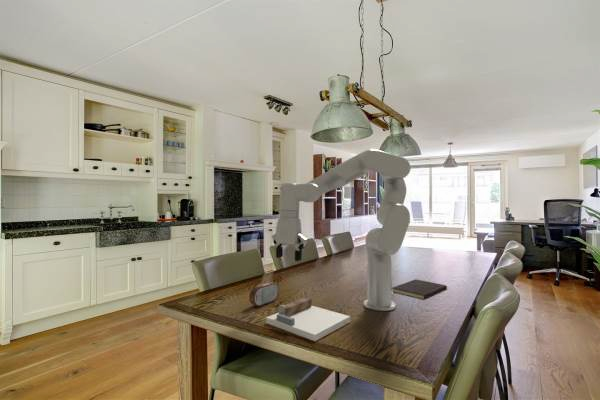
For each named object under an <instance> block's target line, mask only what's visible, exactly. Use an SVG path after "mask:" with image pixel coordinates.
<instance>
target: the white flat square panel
mask: <svg viewBox="0 0 600 400" xmlns="http://www.w3.org/2000/svg"><path fill="white" fill-rule="evenodd" d="M265 320H266V321H265V323H266V324H268V325H271V326H273V327H275V328H278V329H280V330H284V331H287V332H289V333H292V334H295V335H297V336H300V337H302V338H304V339H308V340H311V341H312V342H317V341H318V340H320V339H322V338H323V337H325V336H327V335H329V334H331V333H334V332H335V331H337V330H338V329H340V328H342V327H344V326H346V325H347V324H349V323H351V316H350V315H347V314H343V313H340V312H337V311H332V310H329V309H326V308H325V309H324V308H323V307H318V306H314V305H311V307H310V308H307V309H305V310H302V311H300V312H298V313H295V314H293V315H290V316H285V315H282V314H279V312H277V313H274V314H271V315H269V316H266V318H265Z"/></svg>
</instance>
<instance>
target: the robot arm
mask: <svg viewBox="0 0 600 400" xmlns="http://www.w3.org/2000/svg"><path fill="white" fill-rule="evenodd" d="M411 169H412V168H411V164H410V161H409V160H408V159H407V158H405V157H403V156H400V155H397V154H393V153H389V152H386V151H382V150H379V149H375V148H370V149H367V150H364V151H362V152H360V153H357V154H356V155H353V156H352V157H350V158H348V159H347V160H344V161H343V162H341V163H339V164H338V165H337V164H336V166H333V167H332V168H330V169H329V170H327V171H326V172H324V173H322V174H321V175H319V176H317V177H315V178H313V179H311V180H310V181H308V182H306V183H294V182H285V183H282V184H281V185H280V190H279V191H280V198H279V199H280V201H279V212H278V215H279V217H278V218H277V222H276V227H275V228H276V229H275V233H274V234H273V235H272V236H271V238H272V241H273V244H274V248H276V251H275V258H277V259H279V258H282V257H283V256H284V255H283V254H284V247H283V245H287V246H293V247H294V248H295V250H294V261H295V262H300V261H301V260H302V253H303V250H304V248H305V247H306V245H307V243H308V239H307V237H305V236H303V235H302V233H303V231H302V223H301V218H300V202H304V203H314V202H316V201H318V199H320V197H321V196H322V195H324V194H327V193H328V192H331V191H332V190H336V189H340V188H342V187H344V186H347V185H348V184H350V183H352V182H354V181H355V180H358V179H359V178H361V177H363V176H365V175H366V174H369V173H370V172H371V173H372V172H375V173H377V174H379V177H380V178H381V179H382V181H383V183H384V193H383V196H382V199H381V202H380V204H379V208H378V209H377V212H376V213H377V214H376V220H377V221H378V223H379V224H380V225H381V226H382V227H375V228H372V229H370V230H369V231H368V232H367V234H366V236H365V250H366V258H367V261H366V262H367V263H366V264H367V268H366V269H367V272H366V273H367V276H366V277H367V279H366V280H367V299H365V300H364V301H363V306H364V307H365V308H367V309H369V310H373V311H376V312H377V311H378V312H388V311H393V310H394V309H396V305H397V304H396V302H394V301H393V300H392V298H393V297H395V292H393V291H392V290H393V289H392V288H393V287H392V279H393V278H392V257H391V256H393V255H395V254H397V253H398V252H399V250H400V249H401V247H402V245H403V243H404V240H405V236H406V234H407V231H408V228H409V225H410V222H411V214H410V211H409V209H408V207H407V206H405V199H406V196H407V185H406V181H405V179H404V178H406V177H408V175H409V174H410V172H411Z"/></svg>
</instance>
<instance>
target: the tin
mask: <svg viewBox="0 0 600 400" xmlns="http://www.w3.org/2000/svg"><path fill="white" fill-rule="evenodd" d="M278 296H279V286H278V284H277V283H276V282H273V281H266V282H264V283H260V284H259V283H258V284H256V285H255V286H253V288H251V290H250V293H249V297H248V298H249V302H250V304H251V306H252V305H253V306H256V307H261V306H264V305H268V304H270V303H272V302H274V301H276V299H278Z"/></svg>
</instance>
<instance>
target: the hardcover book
mask: <svg viewBox="0 0 600 400" xmlns="http://www.w3.org/2000/svg"><path fill="white" fill-rule="evenodd" d="M447 289H448V286H447V285H446V284H441V283H435V282H432V281H427V280H421V279H417V278H416V279H413V280H410V281H407V282H405V283H402V284H398V285H396V286H393V287H392V292H393V293H397V294H401V295H405V296H410V297H414V298H418V299H421V300H426V299H428V298H431V297H432V296H435V295H437V294H439V293H441V292H444V291H445V290H447Z"/></svg>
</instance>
